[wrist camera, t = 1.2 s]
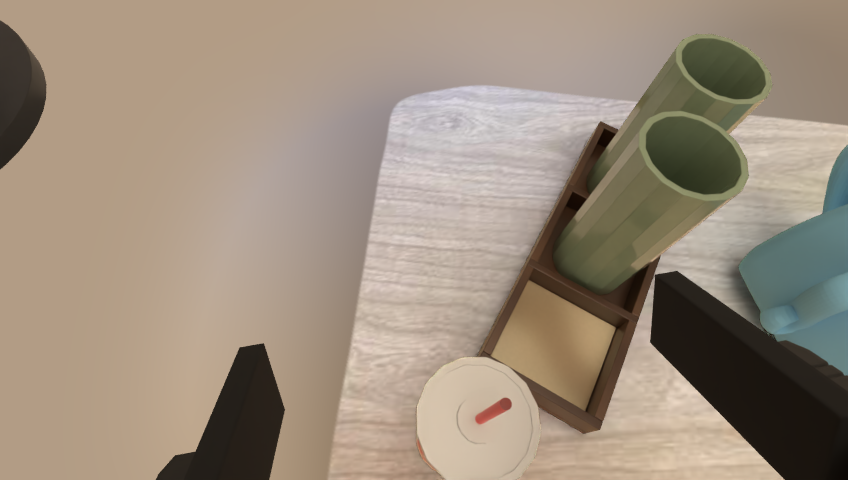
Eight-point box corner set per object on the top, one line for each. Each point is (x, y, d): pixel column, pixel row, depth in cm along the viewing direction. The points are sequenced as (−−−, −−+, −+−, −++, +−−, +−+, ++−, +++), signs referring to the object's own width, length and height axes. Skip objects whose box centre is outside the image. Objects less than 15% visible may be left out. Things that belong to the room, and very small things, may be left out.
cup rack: (584, 433, 31) (600, 430, 29) (471, 367, 32) (478, 358, 30) (675, 181, 42) (692, 164, 40) (588, 139, 44) (600, 120, 41)
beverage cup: (385, 422, 30) (395, 381, 18) (460, 370, 32) (515, 300, 20) (440, 511, 28) (494, 534, 16) (515, 449, 30) (615, 426, 18)
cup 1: (570, 179, 41) (656, 49, 29) (619, 156, 43) (720, 24, 31) (614, 232, 39) (727, 116, 27) (664, 205, 41) (791, 85, 28)
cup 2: (535, 247, 37) (616, 132, 25) (591, 218, 39) (692, 98, 27) (581, 310, 35) (695, 217, 23) (638, 276, 37) (770, 174, 25)
